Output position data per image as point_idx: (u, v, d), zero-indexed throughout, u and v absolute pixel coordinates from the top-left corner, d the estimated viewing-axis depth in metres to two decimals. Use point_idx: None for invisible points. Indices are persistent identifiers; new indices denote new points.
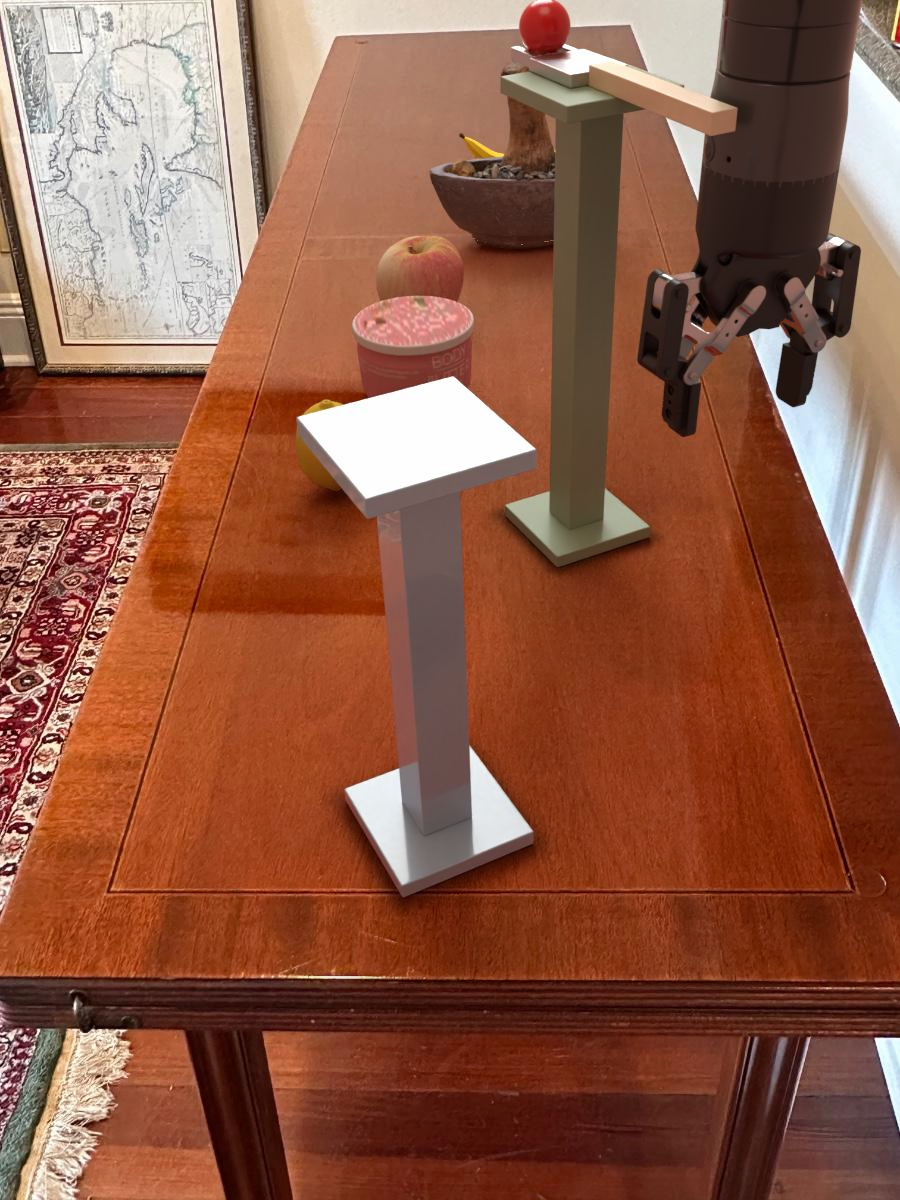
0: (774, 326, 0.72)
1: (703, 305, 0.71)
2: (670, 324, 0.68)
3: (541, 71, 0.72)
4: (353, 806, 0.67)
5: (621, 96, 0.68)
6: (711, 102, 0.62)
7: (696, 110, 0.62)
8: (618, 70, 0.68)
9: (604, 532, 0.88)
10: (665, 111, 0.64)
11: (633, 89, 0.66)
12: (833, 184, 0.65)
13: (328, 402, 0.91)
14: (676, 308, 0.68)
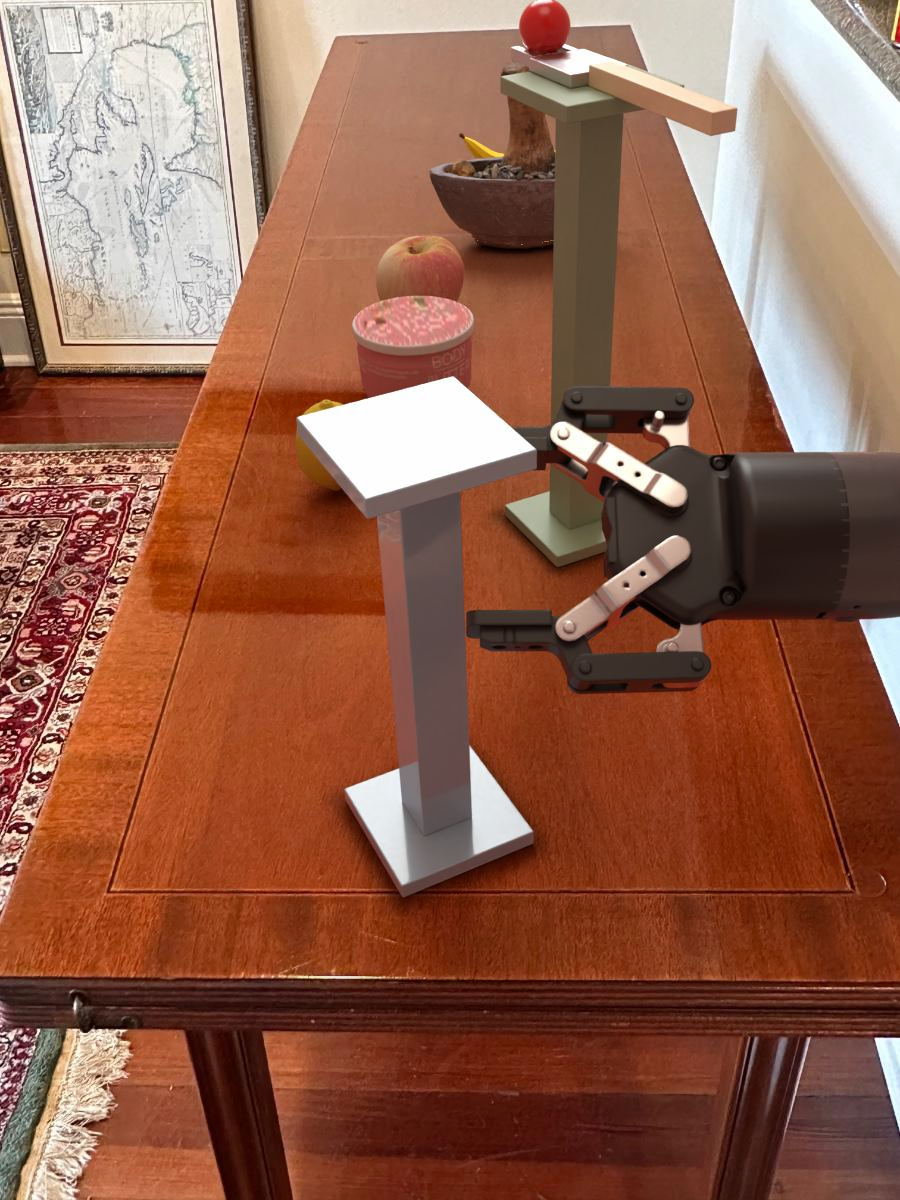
0: (610, 554, 0.52)
1: None
2: (641, 391, 0.55)
3: (541, 71, 0.72)
4: (353, 806, 0.67)
5: (621, 96, 0.68)
6: (711, 102, 0.62)
7: (696, 110, 0.62)
8: (618, 70, 0.68)
9: None
10: (665, 111, 0.64)
11: (633, 89, 0.66)
12: (832, 550, 0.50)
13: (328, 402, 0.91)
14: (661, 397, 0.54)
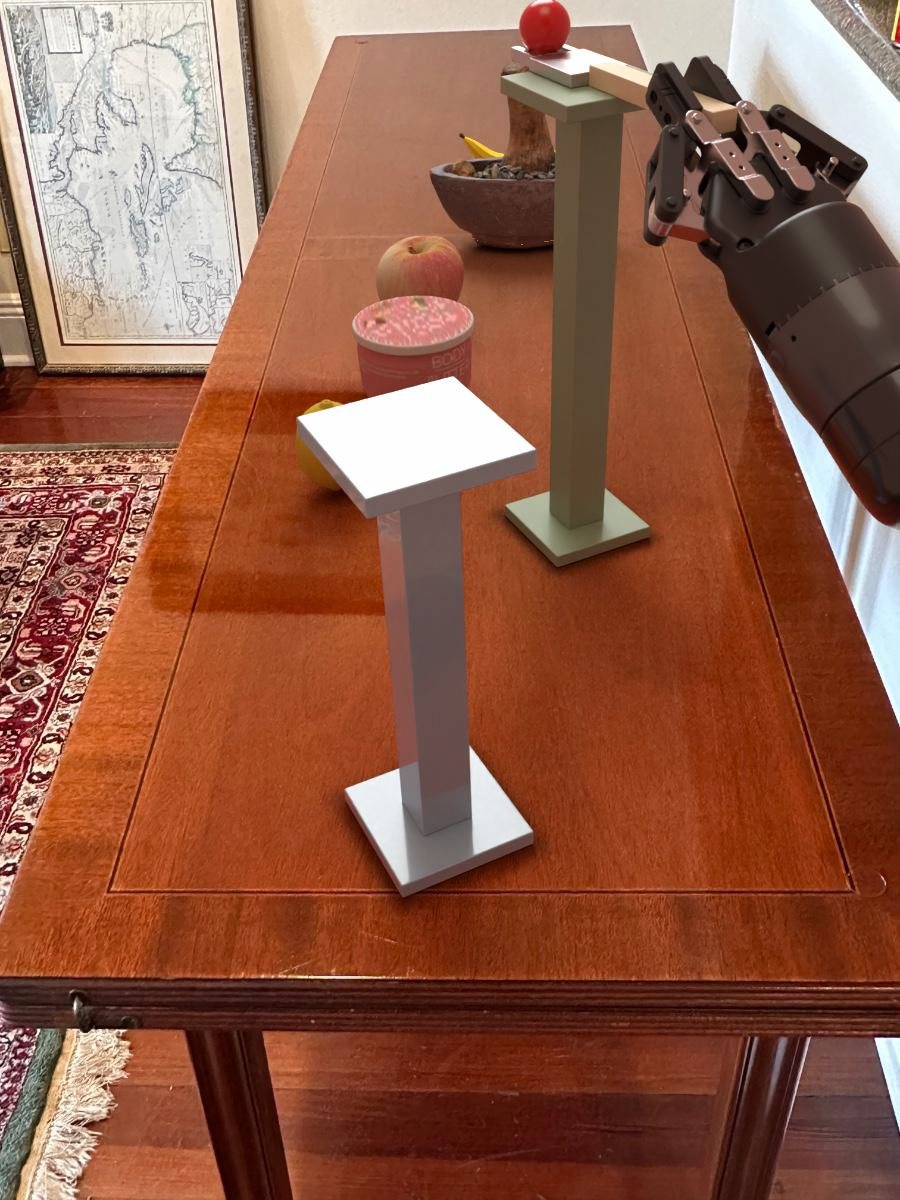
0: None
1: None
2: (831, 139, 0.62)
3: (541, 71, 0.72)
4: (353, 806, 0.67)
5: (621, 96, 0.68)
6: (711, 102, 0.62)
7: None
8: (618, 70, 0.68)
9: (604, 532, 0.88)
10: None
11: (634, 89, 0.66)
12: (830, 272, 0.55)
13: (328, 402, 0.91)
14: (843, 152, 0.62)
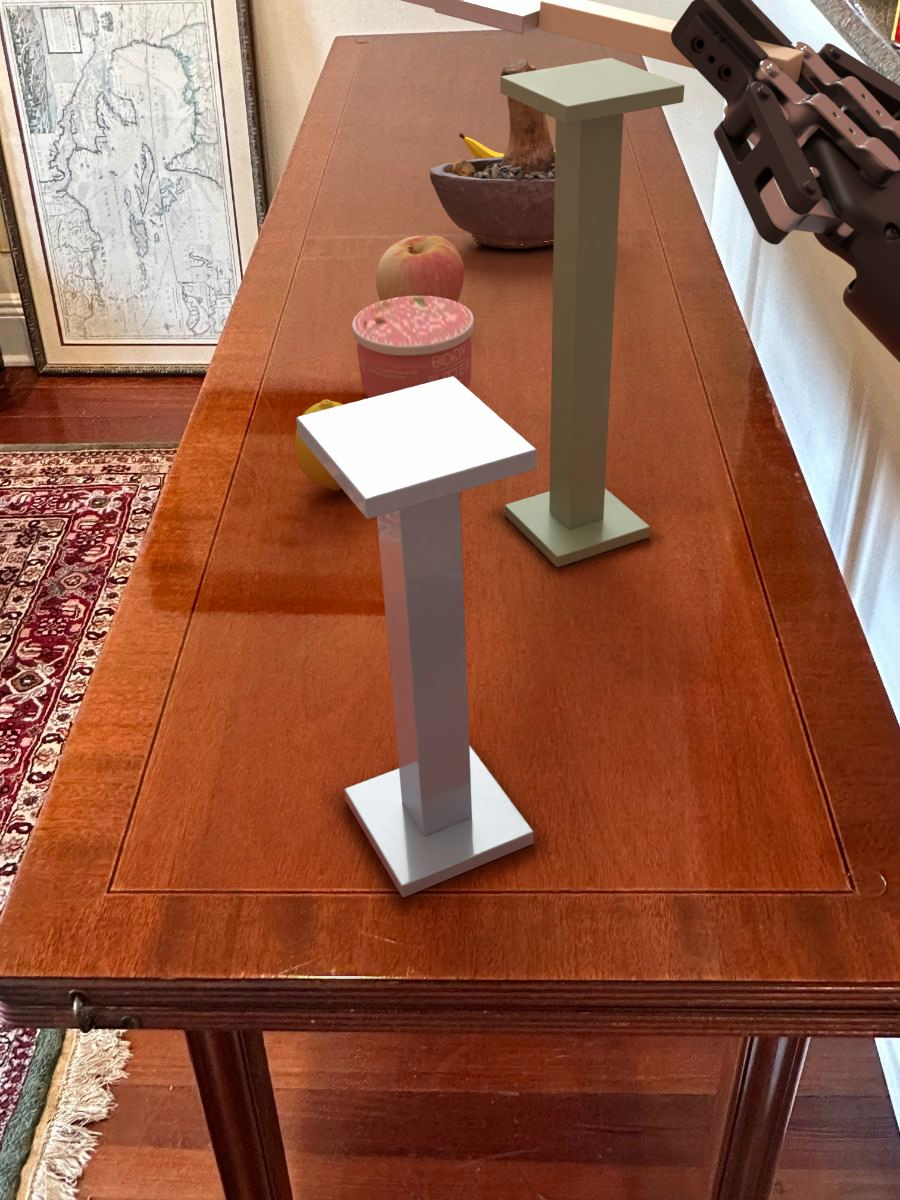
0: None
1: None
2: (891, 83, 0.51)
3: (461, 12, 0.54)
4: (353, 806, 0.67)
5: (605, 42, 0.52)
6: (764, 46, 0.49)
7: None
8: (588, 7, 0.52)
9: (604, 532, 0.88)
10: None
11: (631, 33, 0.51)
12: None
13: (328, 402, 0.91)
14: None
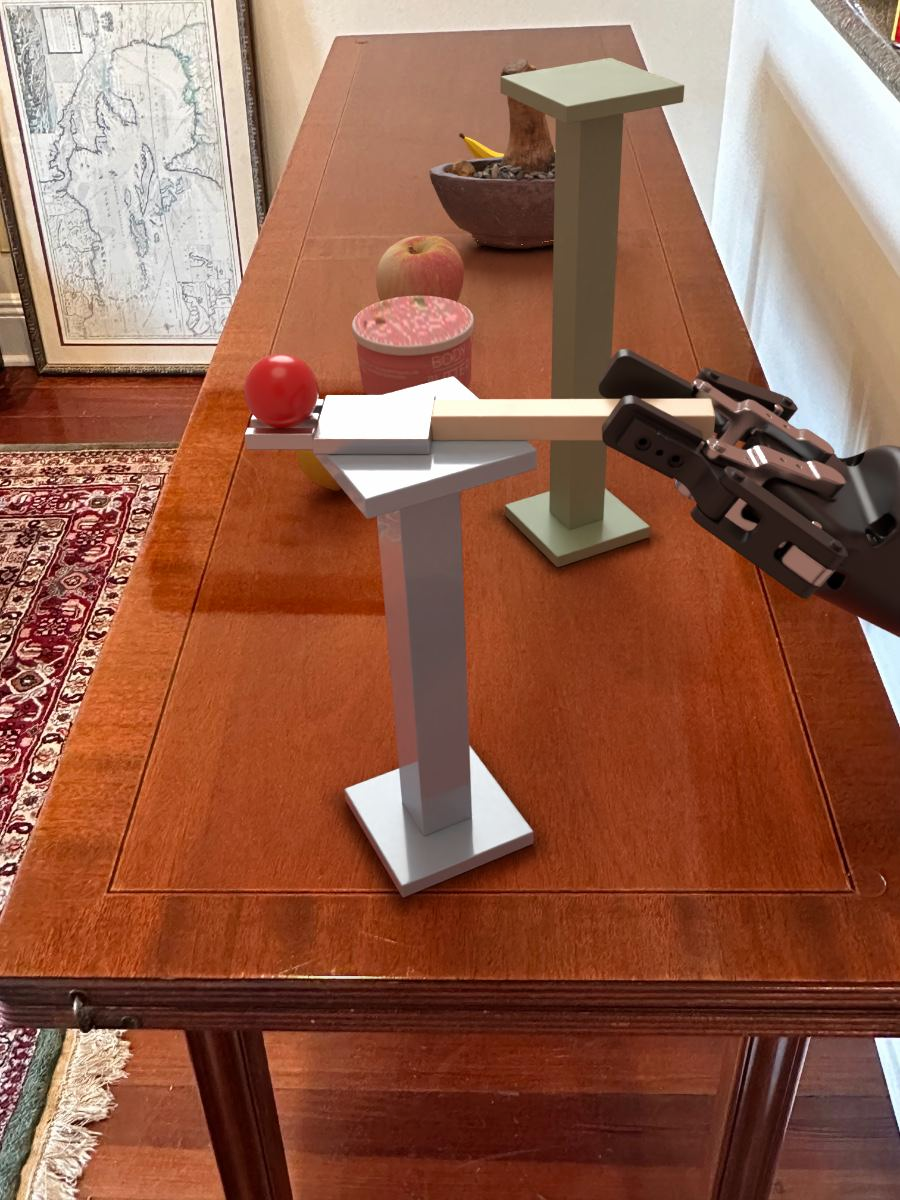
0: None
1: None
2: (757, 388, 0.56)
3: (350, 449, 0.51)
4: (353, 806, 0.67)
5: (515, 437, 0.51)
6: (676, 404, 0.51)
7: (681, 420, 0.50)
8: (481, 409, 0.51)
9: (604, 532, 0.88)
10: None
11: (543, 424, 0.51)
12: None
13: None
14: (773, 396, 0.57)
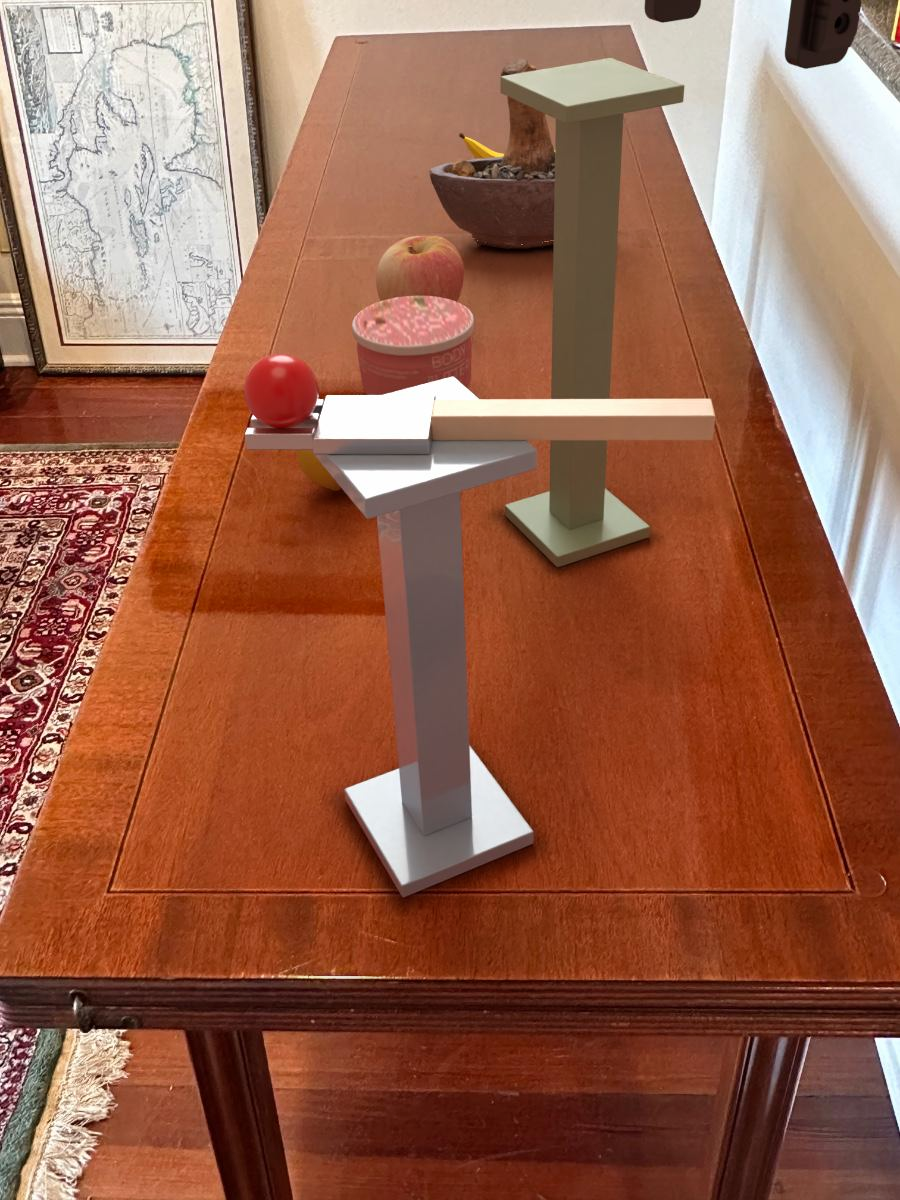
0: None
1: None
2: None
3: (350, 449, 0.51)
4: (353, 806, 0.67)
5: (515, 437, 0.51)
6: (676, 404, 0.51)
7: (681, 420, 0.50)
8: (481, 409, 0.51)
9: (604, 532, 0.88)
10: (616, 434, 0.51)
11: (543, 424, 0.51)
12: None
13: None
14: None
